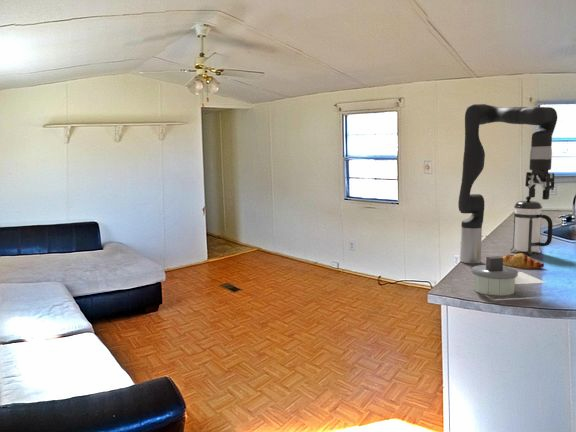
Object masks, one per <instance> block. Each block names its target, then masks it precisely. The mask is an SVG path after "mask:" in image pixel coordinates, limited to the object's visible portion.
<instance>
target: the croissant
mask: <svg viewBox="0 0 576 432" xmlns="http://www.w3.org/2000/svg"><path fill="white" fill-rule="evenodd" d="M499 257H502V258H503V266H505V267H509V268H519V269H533V270H535V269H536V270H537V269H541V268H543V267H545V266H544V265H545V264H544V263H543V262H540V261H538V260H537V259H536V260H534V259H533V258H532V257H531V256H528V255H526V254H525V253H523V252H519V253H515V254H506V255H505V256H504V255H503V256H499Z"/></svg>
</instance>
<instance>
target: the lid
mask: <svg viewBox="0 0 576 432" xmlns="http://www.w3.org/2000/svg"><path fill="white" fill-rule="evenodd" d="M485 258H486V259H485V260H486V261H485V262H486V263H485V264H481V265H475V266H473V267H471V273H472V274H473V275H474V274H475V275H477V276H481V277H485V278H492V279H511V278H515V277H517V276H518V270H517V269H515V268H513V267H510V266H505V265H503V258H502V257H500V256H486V257H485Z"/></svg>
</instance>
